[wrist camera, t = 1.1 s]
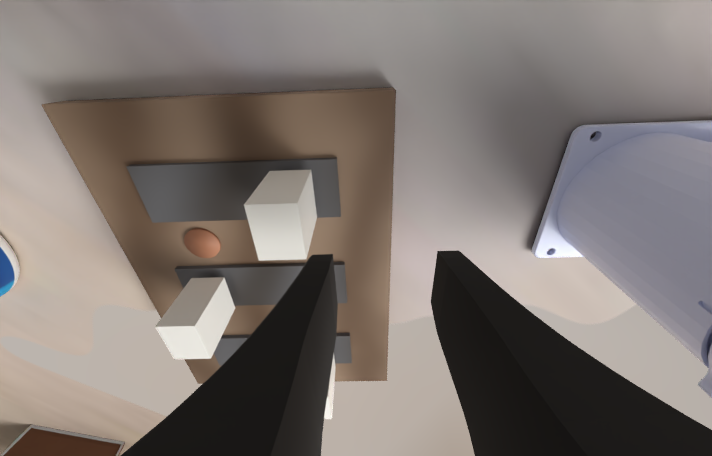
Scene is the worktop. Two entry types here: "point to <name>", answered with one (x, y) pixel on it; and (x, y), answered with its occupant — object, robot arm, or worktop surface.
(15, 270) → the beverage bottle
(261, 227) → the knob
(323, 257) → the robot arm
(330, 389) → the knob
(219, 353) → the switch board
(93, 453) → the food container
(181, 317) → the knob
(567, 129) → the worktop surface
